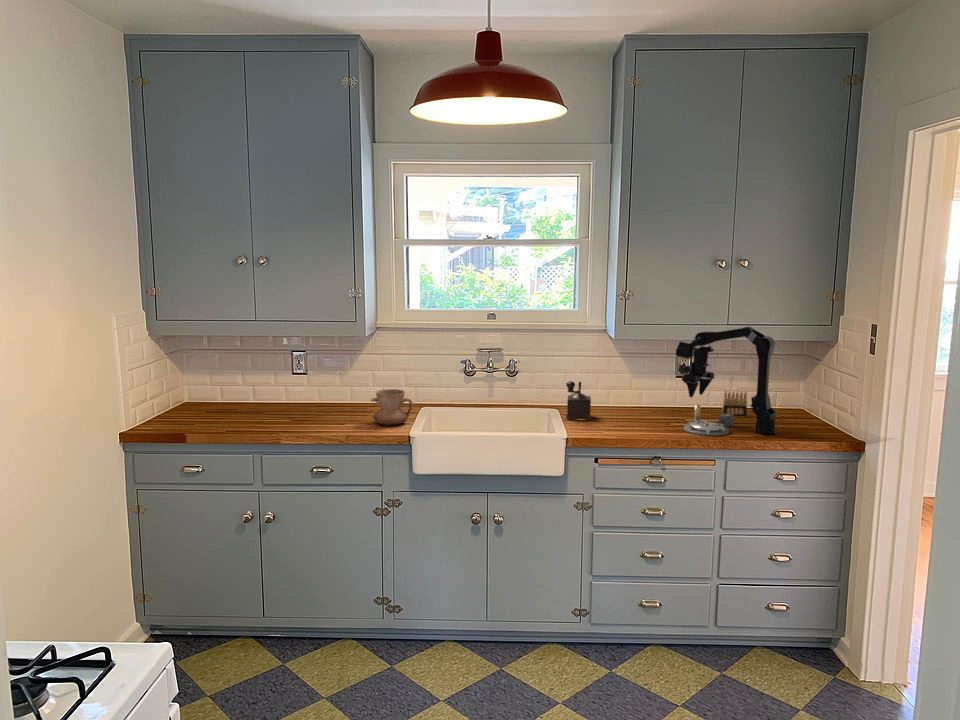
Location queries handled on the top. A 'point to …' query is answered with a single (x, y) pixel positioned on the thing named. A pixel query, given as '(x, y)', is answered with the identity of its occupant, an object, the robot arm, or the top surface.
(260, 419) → the top surface
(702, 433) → the index plate
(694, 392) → the robot arm
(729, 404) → the ammunition clip
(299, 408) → the top surface
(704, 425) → the grey crank mechanism
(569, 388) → the pepper mill
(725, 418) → the link block
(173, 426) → the top surface
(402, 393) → the ceramic jug
